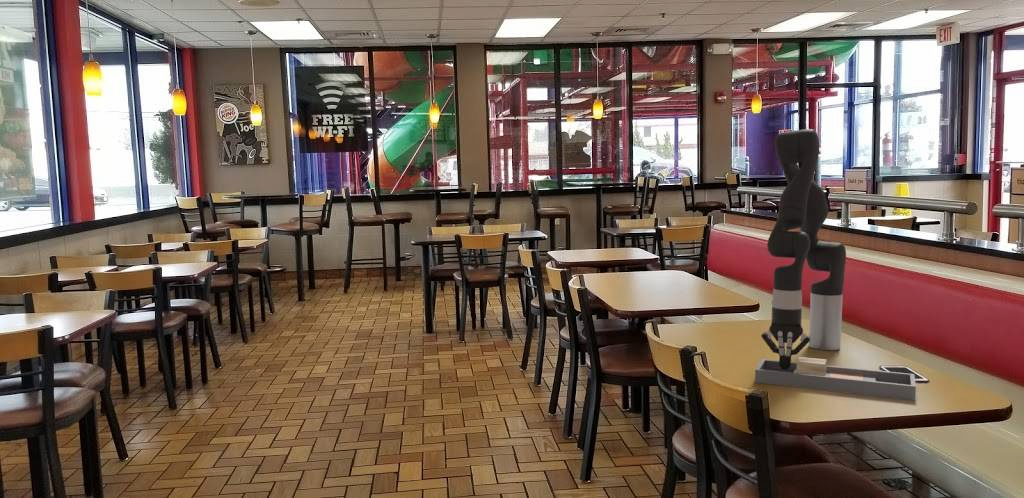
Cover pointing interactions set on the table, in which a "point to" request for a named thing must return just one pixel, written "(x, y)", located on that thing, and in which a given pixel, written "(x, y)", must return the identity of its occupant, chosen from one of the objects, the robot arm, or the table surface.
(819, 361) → the birch block
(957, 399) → the table surface
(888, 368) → the cell phone
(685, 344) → the table surface
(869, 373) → the channel
